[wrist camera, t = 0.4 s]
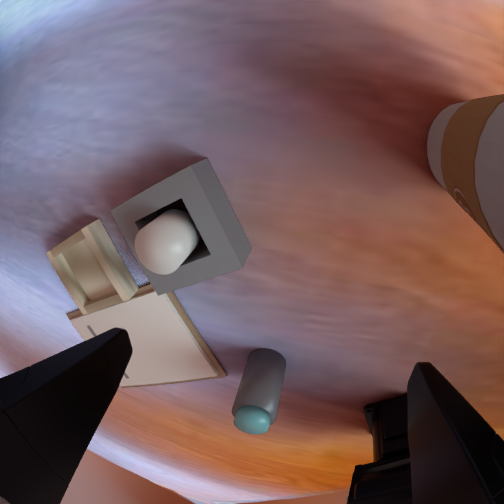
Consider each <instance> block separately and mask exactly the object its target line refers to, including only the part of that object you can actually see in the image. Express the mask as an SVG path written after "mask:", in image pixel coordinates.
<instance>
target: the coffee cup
mask: <svg viewBox="0 0 504 504" xmlns="http://www.w3.org/2000/svg"><path fill="white" fill-rule="evenodd" d="M427 157H428V161H429V164H430V168H431V170H432V172H433V174H434V176H435V178H436V180H437V181H438V182H439V183H440V184H441V186H442V187H443V188H444V189H445V190H446V191H447V192H448V193H449V194H450V195H451V196H452V197H453V199H454V200H455V201H456V202H457V203H458V204H459V205H460V206H461V207H462V208H463V209H464V210H465V211H466V212H467V213H468V214H469V215H470V216H471V217H472V218H473V220H474V221H475V222H476V223H477V224H478V225H479V226H480V227H481V228H482V229H483V230H484V231H485V232H486V234H487V235H488V236H489V237H490V238H491V239H492V240H493V241H494V243H495V244H496V245H497V246H498V247H499V248H500V250H501V251H502V252H503V253H504V94H502V95H495V96H489V97H482V98H478V99H473V100H470V101H466V102H460V103H456V104H452V105H450V106H448V107H446V108H445V109H443V110H442V111H441V112H440V113H439V114H438V115H437V117H436V118H435V119H434V121H433V123H432V125H431V128H430V130H429V134H428V140H427Z"/></svg>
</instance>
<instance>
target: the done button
mask: <svg viewBox="0 0 504 504" xmlns="http://www.w3.org/2000/svg"><path fill="white" fill-rule="evenodd" d="M199 238H200V233H199V231H198V229H197V227H196V225H195V223H194V221H193V219H192V217H191V216H190V215H189V214H188V213H186V212H184V211H182V210H178V209H171V210H168V211H166V212H164V213H163V214H161V215H160V216H158V217H157V218H156V219H154V220H153V221H152V222H150V223H149V224H147V225H146V226H145V227H143V228H142V229H141V230H140V231H139V232H138V233H137V235H136V238H135V251H136V254H137V257H138V259H139V260H140V262H141V263H142V264H143V265H144V266H145V267H146V268H147V269H148V270H150V271H152V272H154V273H156V274H161V275H166V274H170V273H173V272H174V271H176V270H177V269H178V267H179V266H180V265H181V264H182V263H183V262H184V260H185V259H186V258H187V257H188V256H189V255H190V253H191V252H192V251H193V250H194V249H195V247H196V246H197V244H198V242H199Z"/></svg>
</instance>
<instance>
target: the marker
mask: <svg viewBox="0 0 504 504" xmlns="http://www.w3.org/2000/svg"><path fill="white" fill-rule="evenodd" d="M285 367H286V361H285V359H284V357H283V356H282V355H281V354H280V353H278V352H276V351H274V350H271V349H258V350H255V351H253V352H252V353H251V354H250V355H249V357H248V360H247V364H246V367H245V370H244V373H243V376H242V380H241V383H240V386H239V389H238V392H237V395H236V399H235V402H234V405H233V408H232V414H233V416H234V417H235V419H234V424H235V426H236V427H237V428H238V429H239V430H241V431H243V432H245V433H249V434H263V433H265V432H267V431H268V429H269V425H271V424H273V423H274V422H275V420H276V416H277V411H278V406H279V401H280V395H281V390H282V384H283V379H284V373H285Z"/></svg>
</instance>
